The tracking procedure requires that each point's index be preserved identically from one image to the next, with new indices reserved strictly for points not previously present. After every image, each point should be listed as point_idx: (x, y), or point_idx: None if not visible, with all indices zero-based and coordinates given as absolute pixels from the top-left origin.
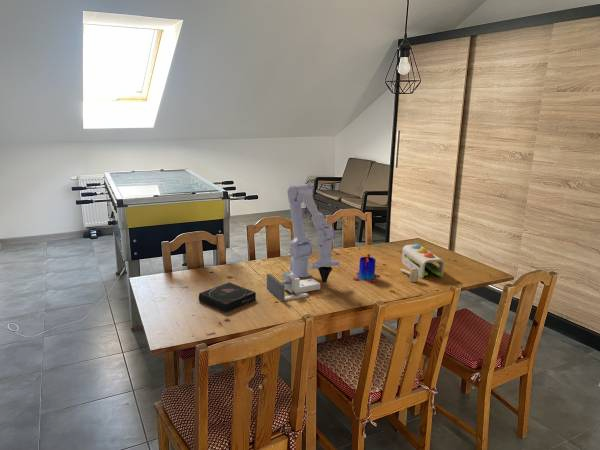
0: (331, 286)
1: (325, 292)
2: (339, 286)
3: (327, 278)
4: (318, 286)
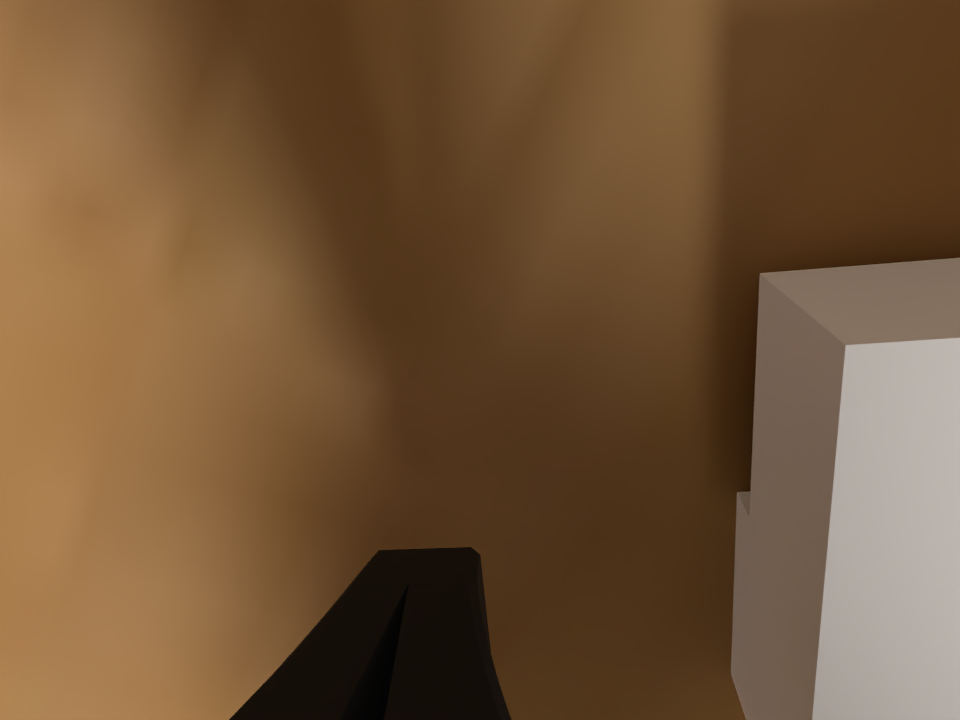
0: (256, 414)
1: (661, 19)
2: (19, 334)
3: (305, 639)
4: (881, 298)
